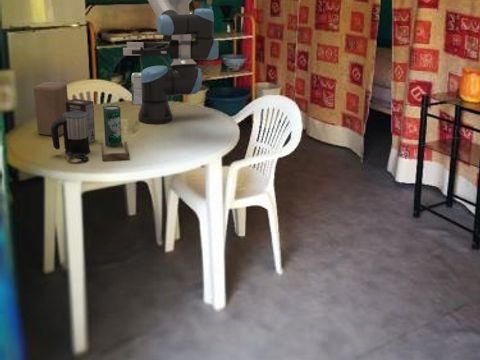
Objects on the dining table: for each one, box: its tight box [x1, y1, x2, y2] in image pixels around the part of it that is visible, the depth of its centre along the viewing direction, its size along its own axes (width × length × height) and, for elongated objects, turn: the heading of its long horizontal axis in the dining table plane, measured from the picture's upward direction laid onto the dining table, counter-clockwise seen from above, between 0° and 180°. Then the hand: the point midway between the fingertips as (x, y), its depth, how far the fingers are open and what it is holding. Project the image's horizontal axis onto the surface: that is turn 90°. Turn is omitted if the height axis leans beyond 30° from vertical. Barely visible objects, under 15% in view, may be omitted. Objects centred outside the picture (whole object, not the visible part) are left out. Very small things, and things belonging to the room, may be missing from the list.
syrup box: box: [130, 72, 142, 106], centre depth 298 cm, size 6×6×14 cm
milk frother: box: [51, 111, 91, 162], centre depth 225 cm, size 14×16×15 cm
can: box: [103, 104, 123, 148], centre depth 238 cm, size 6×6×15 cm
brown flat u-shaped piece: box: [100, 141, 130, 162], centre depth 229 cm, size 10×14×2 cm
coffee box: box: [66, 98, 96, 144], centre depth 241 cm, size 9×6×16 cm
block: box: [33, 81, 69, 137], centre depth 250 cm, size 10×10×20 cm
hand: (125, 48), depth 241 cm, fingers open, 13 cm apart
